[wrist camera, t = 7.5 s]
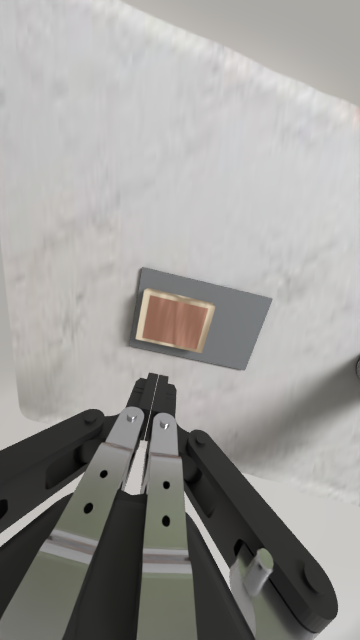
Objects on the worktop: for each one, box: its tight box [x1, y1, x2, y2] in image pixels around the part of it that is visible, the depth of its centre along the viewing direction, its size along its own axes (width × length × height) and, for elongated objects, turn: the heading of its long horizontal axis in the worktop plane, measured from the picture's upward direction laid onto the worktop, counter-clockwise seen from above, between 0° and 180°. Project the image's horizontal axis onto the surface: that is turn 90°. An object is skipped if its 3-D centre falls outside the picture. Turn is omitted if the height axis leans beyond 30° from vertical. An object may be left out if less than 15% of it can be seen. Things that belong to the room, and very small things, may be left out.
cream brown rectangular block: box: [136, 288, 215, 353], centre depth 30 cm, size 3×8×11 cm
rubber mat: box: [129, 267, 272, 370], centre depth 32 cm, size 22×14×1 cm, turn 77°
